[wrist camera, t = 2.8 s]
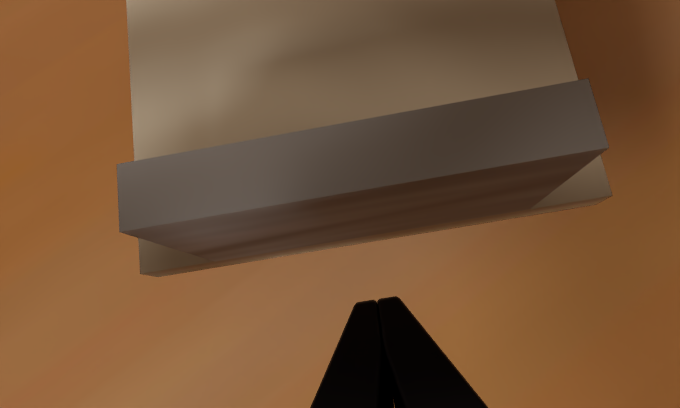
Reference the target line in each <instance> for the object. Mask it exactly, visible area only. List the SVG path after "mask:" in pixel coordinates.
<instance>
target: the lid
mask: <svg viewBox="0 0 680 408" xmlns="http://www.w3.org/2000/svg"><path fill="white" fill-rule="evenodd" d="M126 3H127V22H128V42H129V62H130V82H131V102H132V121H133V141H134V161H132V162H126V163H121V164H117V182H118V206H119V230H120V232H121V233H125V234H128V235H131V236H134V237H137V238H138V240H139V260H140V274H143V275H149V276H155V277H161V276H167V275H173V274H180V273H186V272H192V271H198V270H204V269H210V268H216V267H222V266H228V265H234V264H240V263H246V262H252V261H258V260H264V259H270V258H276V257H282V256H288V255H294V254H301V253H307V252H313V251H319V250H325V249H331V248H337V247H343V246H349V245H355V244H361V243H367V242H373V241H379V240H385V239H391V238H397V237H403V236H409V235H416V234H422V233H428V232H434V231H440V230H446V229H452V228H458V227H464V226H470V225H476V224H482V223H488V222H494V221H500V220H506V219H512V218H518V217H524V216H531V215H537V214H543V213H549V212H555V211H561V210H567V209H573V208H579V207H585V206H591V205H596V204H598V203H600V202H602V201H603V200H605V199H607V198H609V197H611V196H612V192H611V189H610V185H609V182H608V179H607V175H606V172H605V169H604V165H603V162H602V158H601V155H600V154H601V153H603V152H604V151H605V150H607V149H608V148H609V145H608V142H607V139H606V135H605V132H604V129H603V125H602V122H601V119H600V115H599V112H598V109H597V105H596V102H595V99H594V95H593V92H592V89H591V85H590V82H589V79H582V80H578V77H577V74H576V70H575V67H574V64H573V60H572V57H571V53H570V50H569V47H568V43H567V40H566V37H565V33H564V30H563V26H562V23H561V20H560V16H559V13H558V9H557V6H556V3H555V0H126Z"/></svg>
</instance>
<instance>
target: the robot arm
mask: <svg viewBox="0 0 680 408" xmlns="http://www.w3.org/2000/svg"><path fill="white" fill-rule="evenodd" d="M393 400H394V401H393ZM394 405H395V408H488V407H487V406H486V404H485V403H484V402H483V401H482V399H481V398H480V397H479V396H478V394H477V393H476V392H475V391H474V390H473V388H472V387H471V386H470V385H469V383H468V382H467V381H466V380H465V378H464V377H463V376H462V375H461V373H460V372H459V371H458V370H457V369H456V367H455V366H454V365H453V364H452V362H451V361H450V360H449V359H448V357H447V356H446V355H445V354H444V352H443V351H442V350H441V349H440V348H439V346H438V345H437V344H436V343H435V341H434V340H433V339H432V338H431V336H430V335H429V334H428V333H427V332H426V330H425V329H424V328H423V327H422V325H421V324H420V323H419V322H418V320H417V319H416V318H415V317H414V315H413V314H412V313H411V312H410V311H409V309H408V308H407V307H406V306H405V304H404V303H403V302H402V301H401V299H400V298H398V297H396V296H395V297H388V298H382V299H379V300H378V302H376V301H375V300H369V301H363V302H357V303H356V304H355V305H354V307H353V310H352V312H351V314H350V317H349V319H348V321H347V324H346V326H345V328H344V331H343V333H342V335H341V338H340V340H339V342H338V345H337V347H336V349H335V351H334V354H333V356H332V358H331V361H330V363H329V365H328V368H327V370H326V372H325V375H324V377H323V379H322V382H321V384H320V386H319V389H318V391H317V393H316V396H315V398H314V400H313V403H312V405H311V407H310V408H394Z"/></svg>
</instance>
